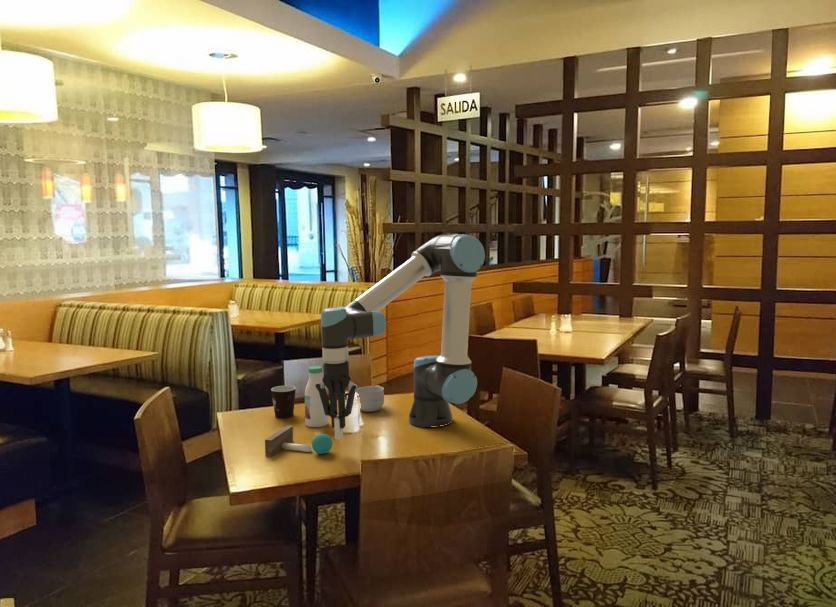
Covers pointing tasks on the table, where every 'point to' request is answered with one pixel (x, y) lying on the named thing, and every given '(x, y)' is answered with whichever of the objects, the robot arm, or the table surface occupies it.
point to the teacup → (371, 398)
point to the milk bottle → (314, 400)
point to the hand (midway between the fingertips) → (339, 438)
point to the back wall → (278, 440)
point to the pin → (296, 447)
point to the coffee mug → (283, 401)
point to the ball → (321, 443)
